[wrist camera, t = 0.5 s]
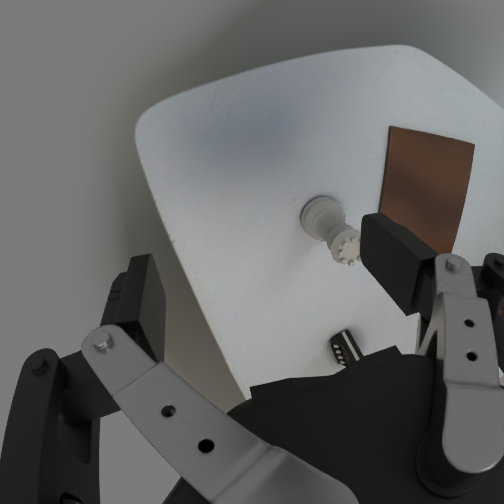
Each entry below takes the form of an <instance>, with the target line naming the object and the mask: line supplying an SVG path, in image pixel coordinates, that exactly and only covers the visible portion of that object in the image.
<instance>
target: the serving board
mask: <svg viewBox="0 0 504 504" xmlns="http://www.w3.org/2000/svg"><path fill="white" fill-rule="evenodd" d="M474 148H475V144H471V143H468V142H464V141H460V140H456V139H452V138H447V137H443V136H439V135H434V134H429V133H425V132H420V131H414V130H409V129H403V128H398V127H392V126H389V137H388V146H387V155H386V164H385V171H384V179H383V186H382V193H381V199H380V205H379V211H378V213H380V212H382V213H384V214H385V215H386V216H388V217H389V218H390V219H392V220H393V221H394V222H395V223H398V224H400V225H402V226H404V227H406V228H408V229H409V230H410V231H411V232H413V233H414V235H416V236H418V237H419V238H420V240H423V241H424V242H425V243H426V244H428V245H429V246H430V247H431V248H432V249H434V250H435V251H436V252H437V253H438V254H445V253H449V254H451V252H452V249H453V245H454V242H455V238H456V235H457V231H458V227H459V224H460V220H461V216H462V212H463V207H464V203H465V198H466V194H467V189H468V184H469V179H470V173H471V167H472V161H473V155H474Z"/></svg>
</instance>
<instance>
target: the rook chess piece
mask: <svg viewBox="0 0 504 504" xmlns="http://www.w3.org/2000/svg"><path fill="white" fill-rule="evenodd" d="M301 217H302V226H303V228H304V230H305V232H307V233H308V235H310V236H311V237H312V238H313V239H315V240H319V241H326V242H327V245H328V248H329V249H330V250H331V254H332V257H333V259H334V260H335V261H337V262H338V263H342V264H346V263H348V264H349V266H351V265H355V262H354V261H355V260H357V259H358V261H359V262H360V261H361V258H360V238H361V232H360V231H359V230H355V229H353V228H352V227H351V226H350V225H347V224H346V223H345V215H344V212H343V209H342V207H341V206H340V205H339V204H338V203H337V202H336V201H335V200H334V199H332V198H328V197H319V198H316V199H314V200H313V201H311V202H310V203H309V204H308V205H307V206H306V207H305V208H304V211H303V213H302V216H301Z"/></svg>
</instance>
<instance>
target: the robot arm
mask: <svg viewBox="0 0 504 504" xmlns="http://www.w3.org/2000/svg"><path fill="white" fill-rule="evenodd" d="M360 258H361V261H362V263H363V265H364V266H365V267H366V268H367V270H368V271H369V272H370V273H371V274H372V275H373V277H374V278H375V279H376V280H377V281H378V282H379V284H380V285H381V286H382V287H383V288H384V289H385V291H386V292H387V293H388V294H389V295H390V297H391V298H392V299H393V300H394V301H395V303H396V304H397V305H398V306H399V308H400V309H401V310H402V311H403V312H404V314H405V315H406V316H409V315H411V314H414V313H417V312H419V313H420V316H419V320H418V328H417V340H416V350H415V354H404V355H402V354H401V353H400V351H399V350H398V348H397V347H396V345H395V346H392V347H389V348H386V349H384V350H381V351H378V352H375V353H372V354H369V355H366V356H364V357H362V358H361V359H359V360H357V361H356V362H354V363H352V364H351V365H349V366H348V367H346V368H344V369H342V370H341V371H339V372H337V373H336V374H333V375H330V376H319V377H301V378H287V379H283V380H279V381H275V382H270V383H266V384H261V385H257V386H252V387H250V391H251V396H252V398H251V399H249V400H246V401H245V402H243V403H241V404H239V405H238V406H236V407H234V408H233V409H232V410H230V411H229V412H228V413H227V414H226V413H224V412H223V411H222V410H220V409H219V408H218V407H216V406H215V405H214V404H213V403H212V402H210V401H209V400H208V399H207V398H205V397H204V396H203V395H202V394H200V393H199V392H198V391H197V390H195V389H194V388H193V387H192V386H191V385H190V384H189V383H187V382H186V381H185V380H184V379H183V378H182V377H180V376H179V375H178V374H177V373H176V372H175V371H173V370H172V369H171V368H170V367H169V366H168V365H167V364H166V363H164V344H165V317H166V298H165V292H164V288H163V285H162V282H161V279H160V276H159V273H158V270H157V267H156V264H155V260H154V257H153V255H152V254H151V253H150V254H145V255H139V256H134V257H131V260H130V263H129V267H128V270H127V272H123V273H120V274H119V275H118V277H117V278H116V279H115V280H114V281H113V283H112V286H111V289H110V294H109V296H108V302H107V303H106V307H105V310H104V313H103V317H102V321H101V324H100V327H98V328H96V329H94V330H93V331H92V332H90V333H89V334H88V335H87V336H86V337H85V339H84V340H83V343H82V346H81V350H80V351H78V352H76V353H73V354H71V355H68V356H65V357H63V358H59V357H58V355H57V354H56V352H55V351H54V350H52V349H48V348H45V349H40V350H38V351H36V352H34V353H33V354H31V355H30V356H29V357H28V358H27V359H26V361H25V362H24V364H23V366H22V369H21V373H20V376H19V379H18V383H17V386H16V390H15V393H14V397H13V400H12V404H11V409H10V413H9V417H8V421H7V426H6V431H5V435H4V441H3V446H2V452H1V459H0V504H100V490H99V489H100V488H99V435H100V433H99V432H100V418H101V417H104V416H106V415H109V414H111V413H114V412H117V411H120V410H122V411H123V412H124V413H125V414H126V416H127V417H128V418H129V419H130V421H131V422H132V423H133V424H134V425H135V427H136V428H137V429H138V430H139V431H140V433H141V434H142V435H143V436H144V437H145V438H146V439H147V440H148V442H149V443H151V445H152V446H153V447H154V448H155V449H156V450H157V452H159V454H160V455H162V457H163V458H164V459H165V460H166V461H167V462H168V463H169V464H170V465H171V466H172V467H173V468H174V469H175V470H176V471H177V472H178V473H179V474H180V475H181V477H180V479H179V480H178V482H177V483H176V485H175V486H174V488H173V489H172V491H171V492H170V493H169V495H168V496H167V497H166V499H165V500H164V502H163V503H162V504H504V386H502V385H500V381H499V369H498V366H499V368H500V369H501V370H502V372H503V373H504V319H503V318H502V316H501V315H500V314H499V310H500V308H501V306H502V304H503V301H504V255H501V254H498V253H489V254H487V255H486V256H485V259H484V263H483V266H470V264H469V263H468V262H467V261H466V260H465V259H464V258H462V257H460V256H458V255H455V254H449V253H445V254H438V253H437V252H436V251H435V250H434V249H432V248H431V247H430V246H429V245H428V244H426V243H425V242H424V241H423V240H420V238H419V237H418V236H416V235H414V233H413V232H411V231H410V230H409V229H408V228H406V227H404V226H402V225H400V224H398V223H395V222H394V221H393V220H392V219H390V218H389V217H388V216H386V215H385V214H384V213H382V212H380V213H374V214H368V215H364V216H363V218H362V223H361V238H360Z"/></svg>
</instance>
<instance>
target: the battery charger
mask: <svg viewBox="0 0 504 504" xmlns="http://www.w3.org/2000/svg"><path fill="white" fill-rule="evenodd" d="M330 345H331V348H332V350H333V353H334V355H335V358H336V360H337V362H338V364H342V365H343V366H345V367H348V366H349V365H351V364H352V363H354V362H356V361H357V360H359V359H361V358H362V357H364V356H363V354H362V353H361V351H360V349H359V347H358V346H357V344H356V342H355V340H354V338H353V337H352V335H351V333H350V331H348V330H347V331H345V332H344V331H343V332H341V334H339V335H337V336H335V337H334V338H333V339H332V340H331V341H330Z"/></svg>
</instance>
